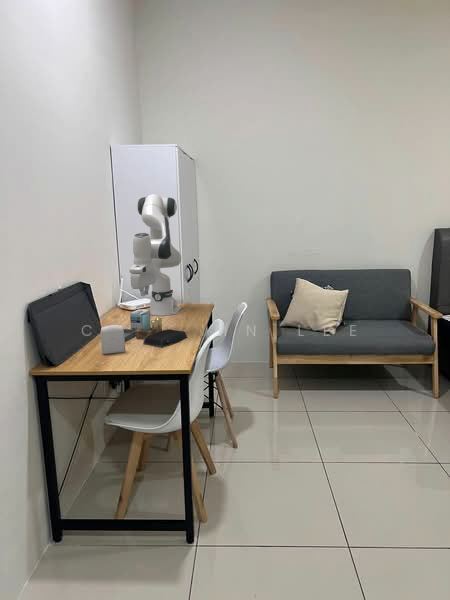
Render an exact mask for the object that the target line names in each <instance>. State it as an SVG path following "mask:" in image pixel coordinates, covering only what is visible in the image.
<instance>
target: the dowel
mask: <svg viewBox="0 0 450 600" xmlns="http://www.w3.org/2000/svg"><path fill="white" fill-rule="evenodd" d="M150 321H151V315H150V316H149V315H143V316H142V323H143V331H149V330H150Z"/></svg>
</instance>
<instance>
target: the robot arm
mask: <svg viewBox="0 0 450 600" xmlns="http://www.w3.org/2000/svg"><path fill="white" fill-rule="evenodd" d="M136 206H137V207H136V208H137V209H136V210H137V212H138V214H139V215H140V216H141V219H142V222H143V223H144V225H146V226H147V227H148V228H149V230H150V233H147V232H139V233H136V234H134V235H133V239H132V240H133V241H132V252H133V253H132V254H133V264H132V265H131V267H130V268H129V273H130V286H131V289H132V290H138V291H139V292H140V296H141V297H145V296H148V295H149V291H150V285H151V289H152V290H151V299H150V301H149V310H150V315H152V316H163V317H164V316H170V315H171V316H172V315H177V314H178V313H179V312H180V311H181V307H180V306H178V305H177V303H178V302H177V300H176V298H174V297H173V293H174V290H173V289H171V288H172V287H171V277H170V276H169V275H167V274H165V273H163V272H162V271H161V269H166V268H167V269H169V268H174V267H178V266H180V264H181V262H182V255H181V252H179V250H177V249H176V248H175V247H174V246H173V244H172V242H171V241H172V240H171V233H170V231H171V230H170V220H169V219H170V218H171V217H174V216H175V215H176V212H177V209H178V205H177V201H176V200H175V199H174V197H173V198H172V197H170V196H169V197H165V196H161V195H159V194H156V193H152V194H149V195H148V196H147V197H146V196H144V197H140V198H139V199H138V201H137V204H136Z"/></svg>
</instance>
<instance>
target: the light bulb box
mask: <svg viewBox="0 0 450 600" xmlns="http://www.w3.org/2000/svg"><path fill="white" fill-rule="evenodd" d="M143 315H149V316H150V317H151V314H150V309H143V308H142V309H141V308H139V309H137V310H134V311H132V312H130V313H129V318H130V320H129V321H130V322H129V323H130V329H135V330H138V329H140V328H142V327H143V323H142V316H143ZM151 321H152V320H150V328H152V325H151Z"/></svg>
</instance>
